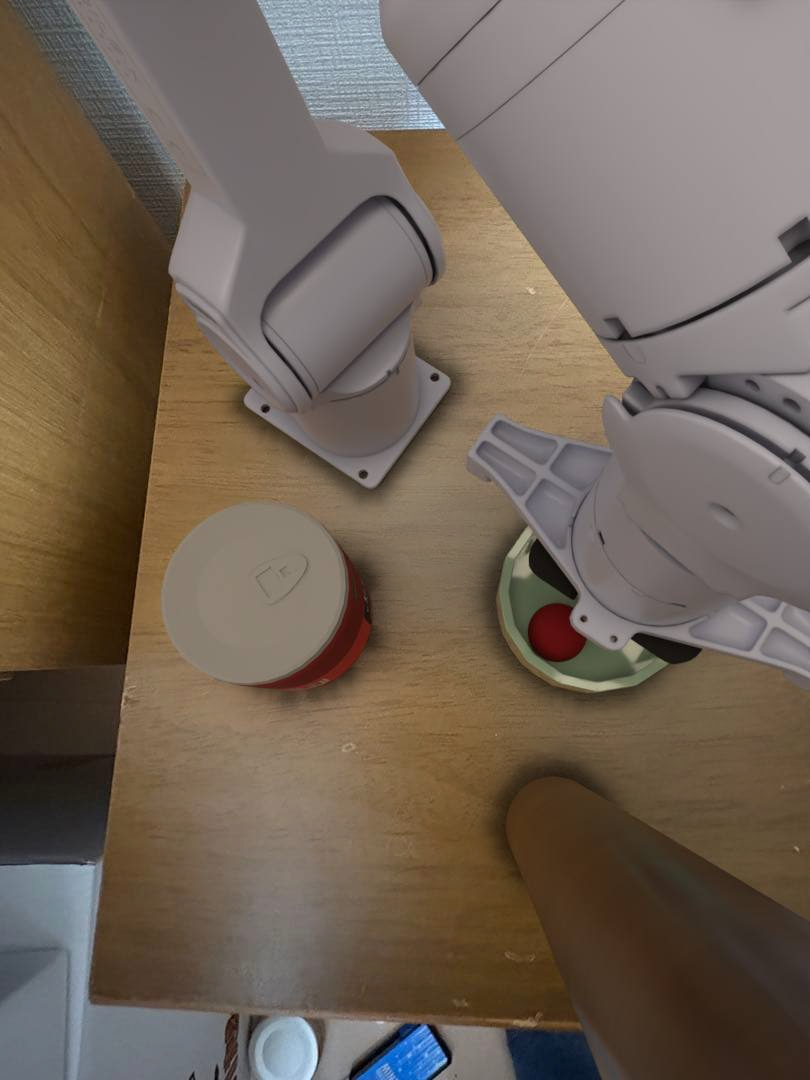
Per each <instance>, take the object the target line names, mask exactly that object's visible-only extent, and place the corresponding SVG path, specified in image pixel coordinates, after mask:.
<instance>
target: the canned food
mask: <svg viewBox="0 0 810 1080" xmlns="http://www.w3.org/2000/svg"><path fill="white" fill-rule="evenodd" d="M160 591H161V592H160V613H161V616H162V621H163V625H164V630H165V631H166V634H167V636H168V638H169V640H170V642H171V644H172V646H173V647H174V649H175V650H176V651H177V652H178V653H179V655H180V656H181V658H182V659H184V661H186V663H188V664H189V665H191V667H193V668H194V669H195V670H197V671H198V672H200V673H202V674H204V675H206V676H207V677H210V678H211V679H214V680H216V681H219V682H222V683H227V684H229V685H233V686H235V685H236V686H239V687H250V688H259V689H268V690H269V689H270V690H279V691H294V692H299V691H306V690H308V691H309V690H313V689H316V688H319V687H321V686H325V685H327V684H329V683H330V682H332V681H334V680H336V679H337V678H339V677H341V676H342V675H343V674H344V673H345V672H347V671H348V669H350V668H351V666H353V664H354V663H355V662H356V661H357V660H358V658H359V657H360V655H361V654H362V652H363V650H364V648H365V646H366V644H367V642H368V639H369V636H370V633H371V630H372V622H373V603H372V598H371V595H370V592H369V588H368V586H367V584H366V582H365V581H364V579H363V577H362V575H361V573H360V572H359V571H358V568H356V566H355V565H354V563H353V562H352V560H351V559H350V558H349V556H348V555H347V553H346V552H345V550H344V548H343V547H342V545H341V544H340V542H339V541H338V540H337V539H336V538H335V537H334V536H333V534H332V533H331V532H330V531H329V529H327V527H326V526H325V525H323V523H321V522H320V521H319V520H318V519H316V518H315V517H314V516H312V515H311V514H309V513H307V512H305V511H304V510H301V509H299V508H297V507H295V506H293V505H289V504H285V503H282V502H277V501H267V500H265V501H264V500H263V501H262V500H255V501H247V502H242V503H241V502H239V503H237V504H234V505H232V506H228V507H226V508H223V509H221V510H219V511H217V512H215V513H214V514H212V515H210V516H207V517H206V518H205V519H203V520H202V521H201V522H200V523H199V524H197V525H196V526H195V527H194V528H192V529H191V530H190V531H189V532H188V534H187V535H186V536H185V537H184V538H183V539H182V541H181V542H180V543H179V545H178V546H177V547H176V549H175V551H174V552H173V554H172V556H171V557H170V559H169V562H168V564H167V567H166V570H165V572H164V575H163V580H162V585H161V590H160Z"/></svg>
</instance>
